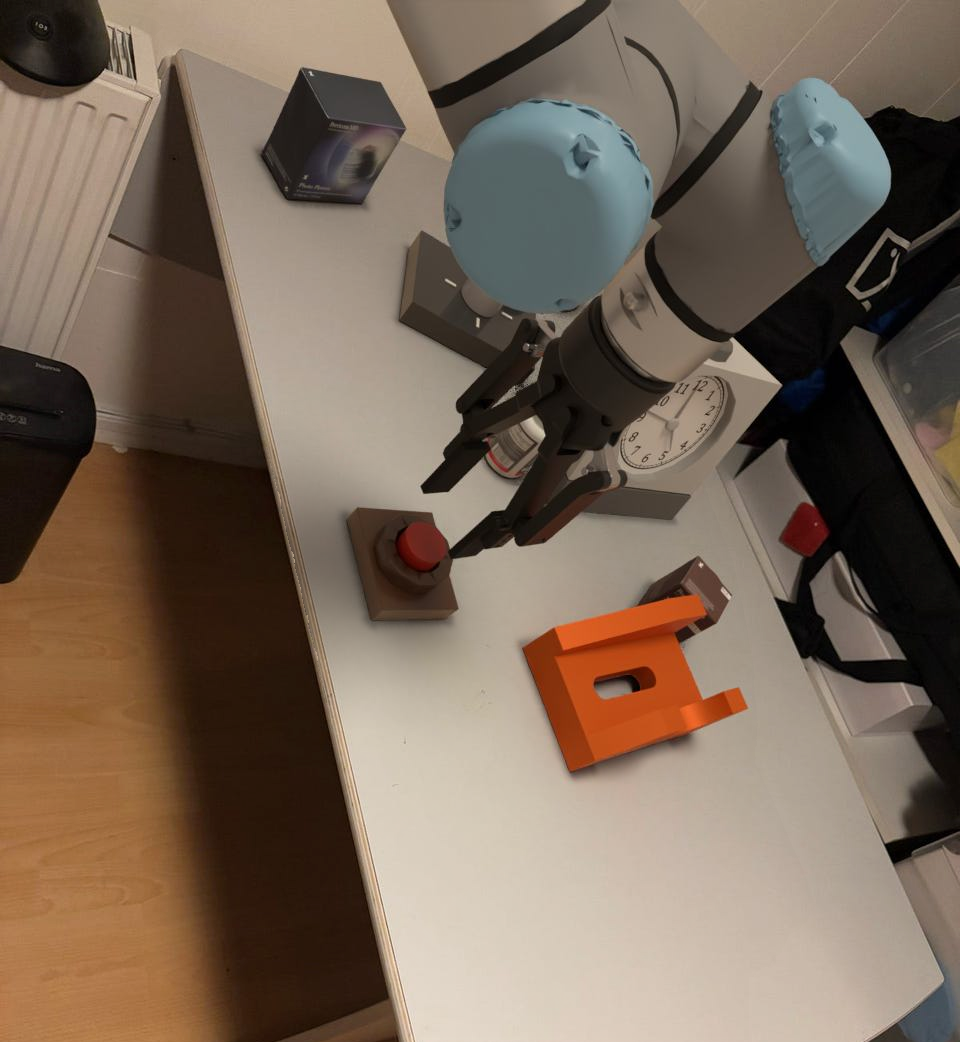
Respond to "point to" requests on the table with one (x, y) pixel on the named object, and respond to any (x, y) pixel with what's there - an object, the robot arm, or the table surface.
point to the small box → (332, 137)
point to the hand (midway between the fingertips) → (448, 520)
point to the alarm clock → (683, 436)
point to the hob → (452, 306)
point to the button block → (398, 568)
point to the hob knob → (479, 300)
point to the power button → (421, 546)
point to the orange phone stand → (616, 650)
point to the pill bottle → (516, 448)
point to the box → (691, 582)
